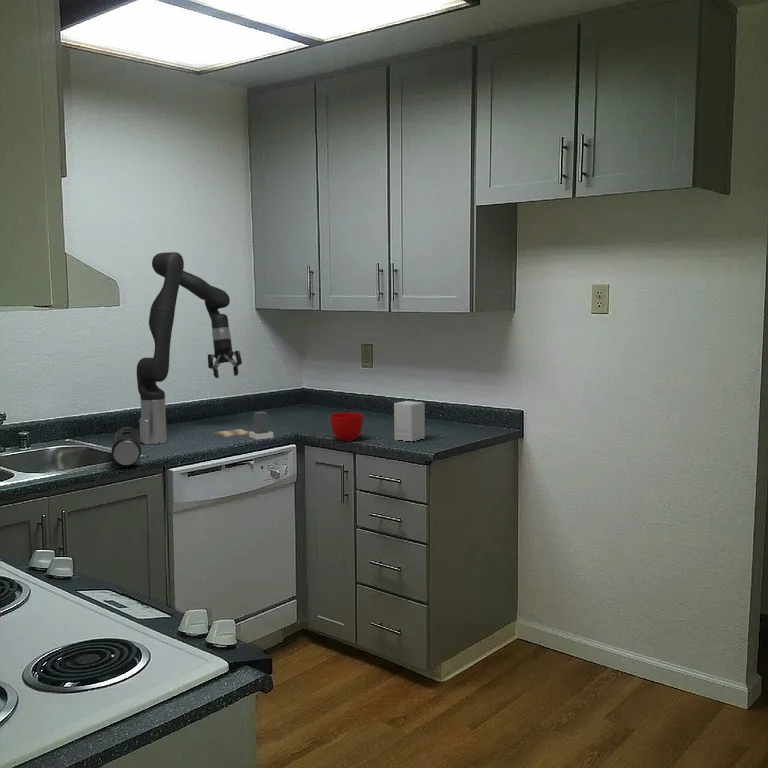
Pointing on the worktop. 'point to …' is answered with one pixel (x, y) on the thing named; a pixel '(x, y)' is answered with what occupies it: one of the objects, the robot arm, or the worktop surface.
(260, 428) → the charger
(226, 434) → the oak board
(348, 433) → the ceramic cup
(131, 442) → the muzzle brake
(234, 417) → the worktop surface
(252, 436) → the socket dock
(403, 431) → the supplement box
